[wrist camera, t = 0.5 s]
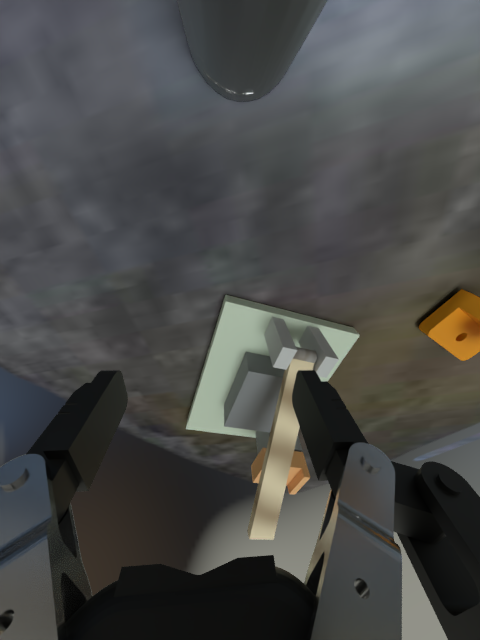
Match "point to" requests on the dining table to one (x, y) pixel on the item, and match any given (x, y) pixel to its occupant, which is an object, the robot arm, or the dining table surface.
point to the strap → (278, 452)
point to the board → (249, 339)
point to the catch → (296, 473)
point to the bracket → (456, 325)
